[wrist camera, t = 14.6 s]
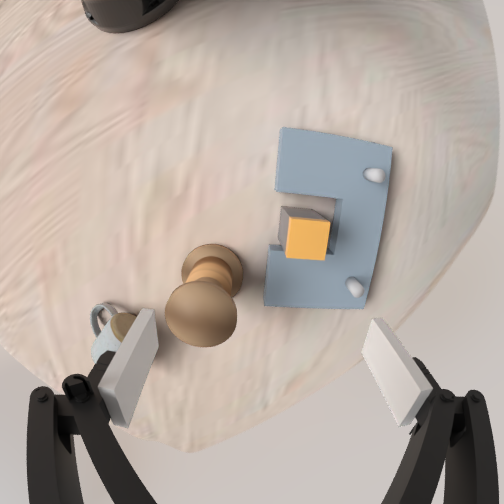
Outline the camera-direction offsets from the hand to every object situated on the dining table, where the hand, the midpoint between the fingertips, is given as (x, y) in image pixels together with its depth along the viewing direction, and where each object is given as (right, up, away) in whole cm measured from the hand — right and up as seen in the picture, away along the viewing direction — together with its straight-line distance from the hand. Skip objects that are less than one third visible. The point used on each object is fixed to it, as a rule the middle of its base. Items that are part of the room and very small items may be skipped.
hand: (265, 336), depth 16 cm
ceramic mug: (-21, -7, +24) cm, 33 cm away
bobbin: (-6, +2, +21) cm, 22 cm away
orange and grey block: (+5, +9, +19) cm, 22 cm away
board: (+9, +9, +19) cm, 23 cm away
